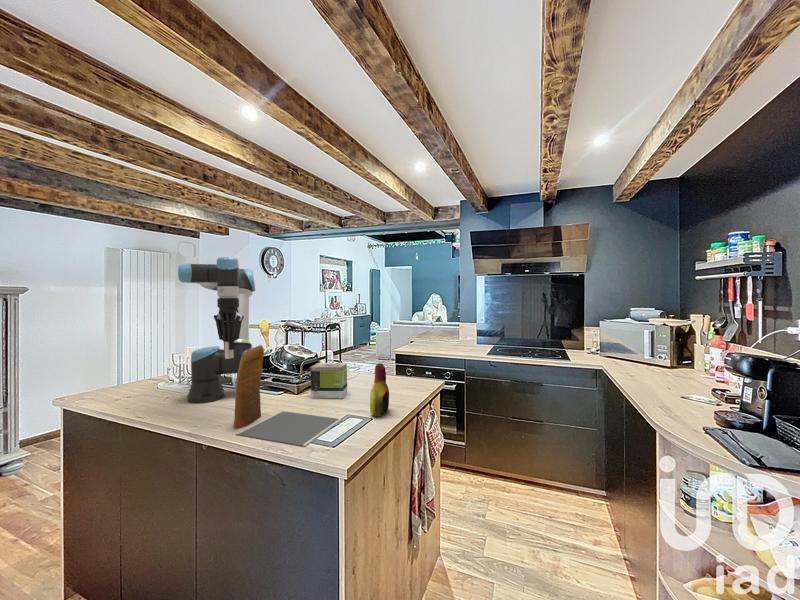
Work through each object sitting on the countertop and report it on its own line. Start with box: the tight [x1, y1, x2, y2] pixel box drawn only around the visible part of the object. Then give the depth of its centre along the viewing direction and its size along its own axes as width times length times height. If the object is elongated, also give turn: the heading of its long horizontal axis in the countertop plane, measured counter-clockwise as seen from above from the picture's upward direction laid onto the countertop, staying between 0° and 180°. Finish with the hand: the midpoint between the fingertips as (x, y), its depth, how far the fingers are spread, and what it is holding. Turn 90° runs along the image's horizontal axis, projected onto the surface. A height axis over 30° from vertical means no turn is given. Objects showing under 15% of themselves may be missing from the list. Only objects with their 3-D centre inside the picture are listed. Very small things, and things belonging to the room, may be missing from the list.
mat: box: [235, 410, 343, 448], centre depth 127 cm, size 28×24×1 cm
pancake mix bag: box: [233, 344, 265, 430], centre depth 133 cm, size 7×19×28 cm, turn 172°
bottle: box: [369, 362, 390, 417], centre depth 141 cm, size 12×6×20 cm, turn 156°
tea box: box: [310, 362, 348, 399], centre depth 165 cm, size 15×10×15 cm, turn 84°
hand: (229, 358), depth 135 cm, fingers closed
